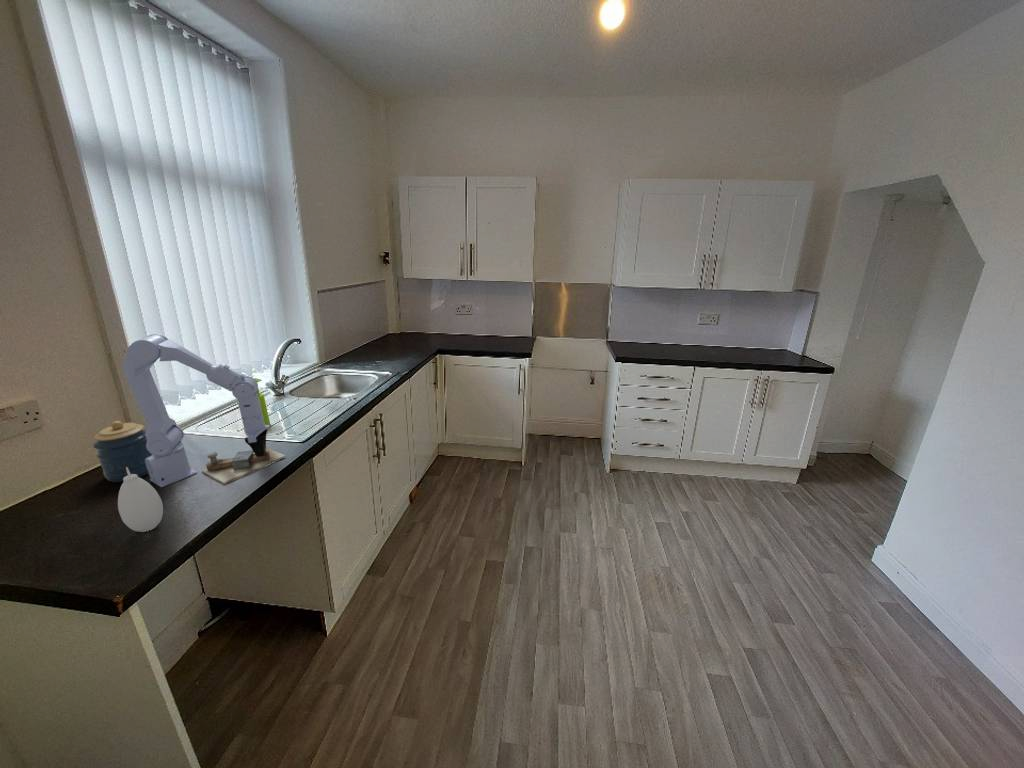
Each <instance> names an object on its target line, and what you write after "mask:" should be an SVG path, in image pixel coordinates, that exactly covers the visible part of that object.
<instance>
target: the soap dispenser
mask: <svg viewBox="0 0 1024 768" xmlns="http://www.w3.org/2000/svg"><path fill="white" fill-rule="evenodd" d="M252 378H253V377H252ZM253 379H255V380H256V381H257V383H260V382H261V381H262V379H261V378H256V377H255V378H253ZM256 392H257V393H258V398H259V400H260V405H261V409H262V414H263V418H264V422H265V425H270V426H271V421H270V417H269V412H268V407H267V404H266V403H267V402H266V399H265V396H264V393H261V392H260V389H259V388H258V389H257V391H256ZM256 392H255V393H256Z"/></svg>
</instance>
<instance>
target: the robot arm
mask: <svg viewBox="0 0 1024 768" xmlns="http://www.w3.org/2000/svg"><path fill="white" fill-rule="evenodd" d="M125 352H126V355H125V358H124V362H123V365H122V370H123V373H124V375H125V378H126V379H127V382H128V384H129V387H130V389H131V391H132V393H133V396H134V399H135V400H136V402H137V403H136V404H137V405H138V408H139V409H140V412H141V414H142V417H143V419H144V421H145V423H146V429H145V430H146V434H145V436H146V438H147V444H146V448H147V450H148V451H149V452H150V453H151V454H153V455H152V456H150V457H148V458H146V459H145V464H146V467H147V470H148V473H149V474H148V476H149V477H150V479H149V480H150V481H151V482H152V483H153V484H155V485H156V486H158V487H160V488H164V487H166V486H169V485H171V484H173V483H174V484H175V483H176V482H178V481H181V480H183V479H187V478H188V477H191V476H193V475H196V474H197V473H198V472H197V471H196V470H195V469H193V468H191V465H190V462H189V459H188V456H187V452H186V448H185V445H184V443H183V442H182V440H183V438H184V436H185V433H184V432H185V431H183V429H182V428H181V427H180V426H179V425H178V424H177V422H176V420H175V419H173V418H170V416H169V413H168V411H167V409H166V406H165V404H164V401H163V399H162V396H161V393H160V391H159V389H158V386H157V384H156V381H155V379H154V377H153V376H154V375H152V371H151V368H152V367H153V366H154V365H155V363H156V362H157V360H159V362H173V361H174V362H178V363H180V364H182V365H184V366H186V367H189V368H191V369H193V370H196V371H198V372H200V373H202V374H205V376H206V379H207V380H208V381H209V382H211V383H213V384H215V385H217V386H219V387H221V388H223V389H224V390H227V391H229V392H232V393H231V394H232V396H233V397H234V398H235V399H237V403H238V404H237V405H238V409H239V413H240V416H241V421H242V425H243V428H244V430H243V432H244V434H245V435H246V437H244V441H245V443H246V444H247V445H248V446H249V447H250V449H251V450H253V452H254V453H255V455H256V456H257V457H258V456H263V455H264V444H265V448H266V447H267V443H266V442H267V433H268V431H269V429H270V427H271V424H270V425H265V422H264V418H263V414H262V409H261V405H260V400H259V398H258V393H257V392H256V391H257V389H259V382H257V381H256V380H255V379H253V377H252V376H246V375H244V374H239V373H238V372H236V371H235V370H232V369H231V368H230V366H229V365H227V364H224V365H223V364H221V363H220V364H213V363H211V362H209V361H207V360H206V359H204V358H202V357H200V356H198V354H195V353H194V352H192V351H190V350H189V349H187V348H185V346H184V347H183V346H182V345H180V344H179V343H178V342H177V341H175V340H174V339H171V338H167V337H166V336H165V335H163V334H160V333H153V334H149V335H148V336H145V337H143V338H141V339H139V340H135V341H134V342H132V343H131V344H130V345H129V346H128V347H127V348H126V349H125ZM255 392H256V393H255Z"/></svg>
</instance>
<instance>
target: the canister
mask: <svg viewBox="0 0 1024 768" xmlns="http://www.w3.org/2000/svg"><path fill="white" fill-rule="evenodd" d="M110 425H111V426H108V427H105V428H103V429H102V430H100V431H99V432H98V433H97V434H96V435H94V437H93V439H94V440H95V442H94V443H93V445H92V447H93V449H95V450H97V454H96V457H97V458H98V461H99V463H100V466H101V469H102V471H103V476H104V478H105V479H106V480H107V481H108V482H110V481H111V483H121V482H124V481H123V478H124V477H125V476H128V474H127V470H126V467H127V468H128V469H129V472H130V474H136V475H137V476H138V477H139V478H142V477H144V476H146V475H149V473H148V470H147V467H146V464H145V459H146V458H148V457H150V456H152V455H153V454H151V453H150V452H149V451H148V450H147V448H146V444H147V438H146V436H145V434H146V429H144V428H145V426H144V425H143V424H139V423H136V422H125V423H123V421H120V420H115V421H113V422H112V423H111V424H110Z"/></svg>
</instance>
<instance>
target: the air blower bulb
mask: <svg viewBox="0 0 1024 768" xmlns="http://www.w3.org/2000/svg"><path fill="white" fill-rule="evenodd" d="M126 470H127V474H128V476H125V477H124V478H123V483H122V484H121V486H120V489H119V491H118V497H117V510H118V513H119V515H120V518H121V521H122V522H123V524H125V526H126V527H128V528H129V529H130V530H132V531H134V532H140V533H146V531H147V532H150V531H152V530H153V529H155V528H157V526H158V525H159V524H160V522H161V521H162V518H163V516H164V515H163V514H164V504H163V501H162V498H161V496H160V495H159V493H158V491H157V490H156V488H154V487H153V485H151V484H150V483H149V482H148V481H146V480H145V479H143V478H142V477H138V476H137V475H136V474H130V472H129V469H128V468H127V467H126ZM149 530H150V531H149Z"/></svg>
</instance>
